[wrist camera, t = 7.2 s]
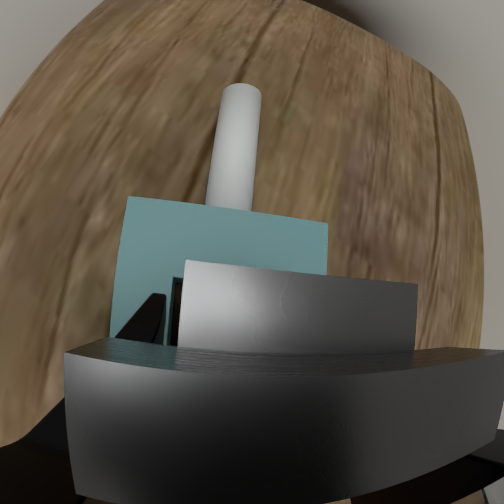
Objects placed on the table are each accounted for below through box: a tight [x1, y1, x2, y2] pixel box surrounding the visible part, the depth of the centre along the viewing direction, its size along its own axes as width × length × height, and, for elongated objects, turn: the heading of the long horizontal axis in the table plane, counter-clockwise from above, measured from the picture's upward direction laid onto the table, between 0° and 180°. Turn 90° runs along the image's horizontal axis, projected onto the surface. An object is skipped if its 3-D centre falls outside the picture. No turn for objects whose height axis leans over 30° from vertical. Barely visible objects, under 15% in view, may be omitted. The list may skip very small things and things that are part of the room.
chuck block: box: [110, 83, 328, 346], centre depth 19 cm, size 24×12×4 cm, turn 175°
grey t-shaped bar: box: [64, 260, 504, 504], centre depth 9 cm, size 4×6×14 cm, turn 85°
